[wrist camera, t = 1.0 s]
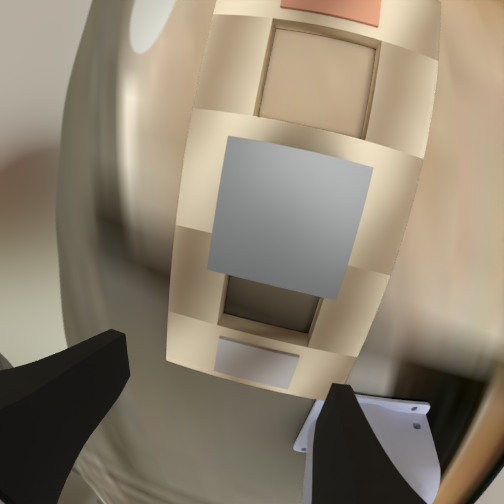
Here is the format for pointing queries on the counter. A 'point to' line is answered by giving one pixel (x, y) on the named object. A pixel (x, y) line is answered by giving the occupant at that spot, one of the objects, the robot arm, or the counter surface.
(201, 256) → the socket board
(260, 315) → the counter surface
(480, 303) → the counter surface
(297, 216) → the plug
